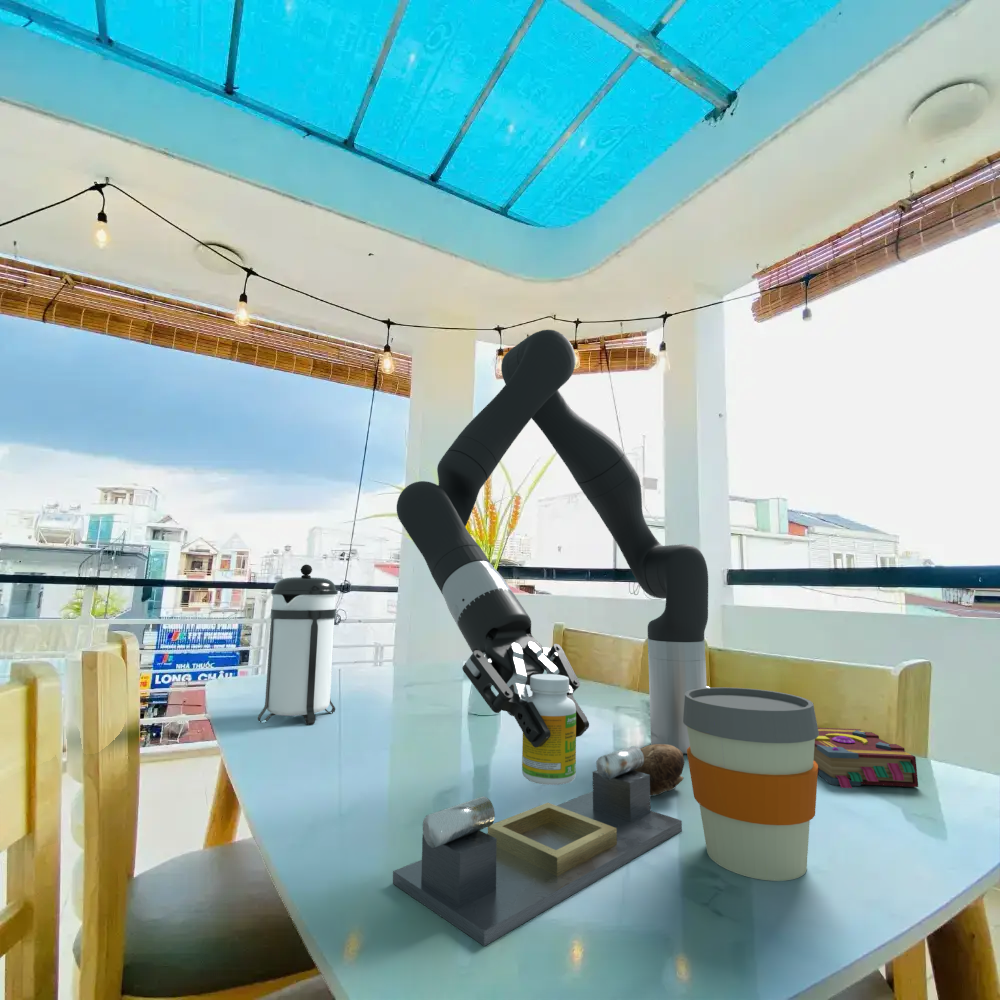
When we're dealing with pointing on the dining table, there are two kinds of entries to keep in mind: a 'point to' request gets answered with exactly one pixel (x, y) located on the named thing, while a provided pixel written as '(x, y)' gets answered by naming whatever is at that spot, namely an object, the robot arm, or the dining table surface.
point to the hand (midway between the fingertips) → (563, 736)
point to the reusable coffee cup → (753, 777)
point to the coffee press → (300, 647)
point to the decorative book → (862, 759)
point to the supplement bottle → (552, 733)
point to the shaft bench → (533, 850)
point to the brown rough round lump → (662, 767)
